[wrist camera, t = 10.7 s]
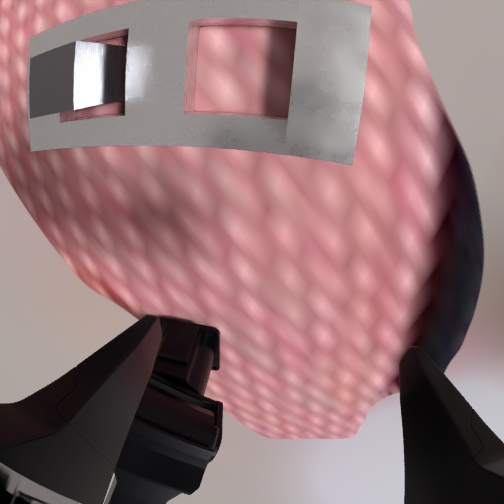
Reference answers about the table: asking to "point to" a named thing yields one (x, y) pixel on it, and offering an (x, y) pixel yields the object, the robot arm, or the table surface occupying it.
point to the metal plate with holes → (184, 76)
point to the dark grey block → (76, 77)
